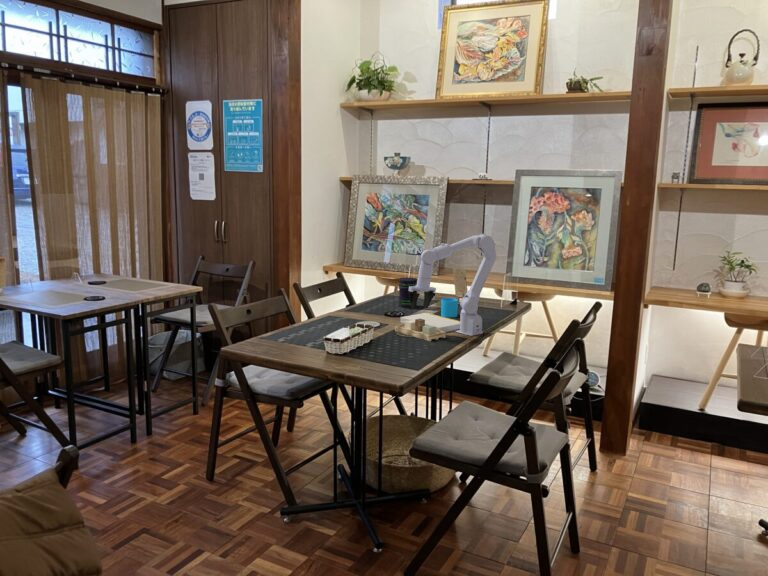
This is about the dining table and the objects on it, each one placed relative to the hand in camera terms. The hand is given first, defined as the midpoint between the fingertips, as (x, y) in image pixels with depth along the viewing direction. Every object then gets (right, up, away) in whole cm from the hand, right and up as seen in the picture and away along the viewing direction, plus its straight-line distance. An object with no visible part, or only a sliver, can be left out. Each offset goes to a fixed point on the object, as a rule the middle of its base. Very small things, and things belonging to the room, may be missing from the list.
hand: (419, 307), depth 273 cm
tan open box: (0, -12, 0) cm, 12 cm away
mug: (+18, -5, +39) cm, 43 cm away
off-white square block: (-3, -9, +4) cm, 11 cm away
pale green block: (+4, -11, -5) cm, 13 cm away
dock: (+7, -9, +17) cm, 20 cm away
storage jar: (-3, -1, +58) cm, 58 cm away
